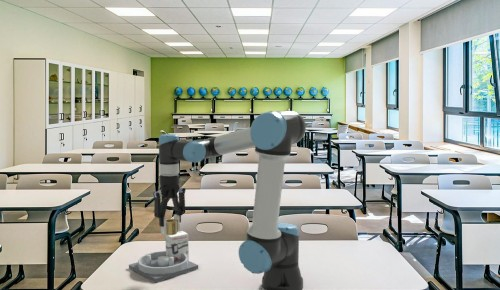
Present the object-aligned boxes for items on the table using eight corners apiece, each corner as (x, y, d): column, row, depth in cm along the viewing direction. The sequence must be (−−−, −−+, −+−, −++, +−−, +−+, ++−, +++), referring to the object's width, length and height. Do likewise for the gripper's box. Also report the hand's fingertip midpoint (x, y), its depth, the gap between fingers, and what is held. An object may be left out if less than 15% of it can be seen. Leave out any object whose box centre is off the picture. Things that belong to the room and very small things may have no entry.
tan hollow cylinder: (179, 233, 182) (179, 220, 181) (168, 236, 178) (167, 223, 177) (171, 230, 186) (171, 217, 185) (160, 232, 182) (160, 220, 181)
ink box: (170, 264, 191) (169, 236, 190) (165, 261, 195) (165, 233, 194) (189, 260, 196) (188, 233, 194) (184, 257, 200) (183, 230, 199)
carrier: (198, 268, 187) (198, 254, 186) (155, 282, 173) (155, 267, 173) (170, 256, 201) (170, 242, 201) (128, 268, 188) (128, 254, 187)
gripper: (183, 170, 188) (184, 226, 191) (143, 175, 175) (144, 235, 178) (194, 172, 183) (195, 230, 185) (153, 178, 170) (155, 239, 173)
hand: (170, 232), depth 182 cm, fingers closed on tan hollow cylinder, 5 cm apart
